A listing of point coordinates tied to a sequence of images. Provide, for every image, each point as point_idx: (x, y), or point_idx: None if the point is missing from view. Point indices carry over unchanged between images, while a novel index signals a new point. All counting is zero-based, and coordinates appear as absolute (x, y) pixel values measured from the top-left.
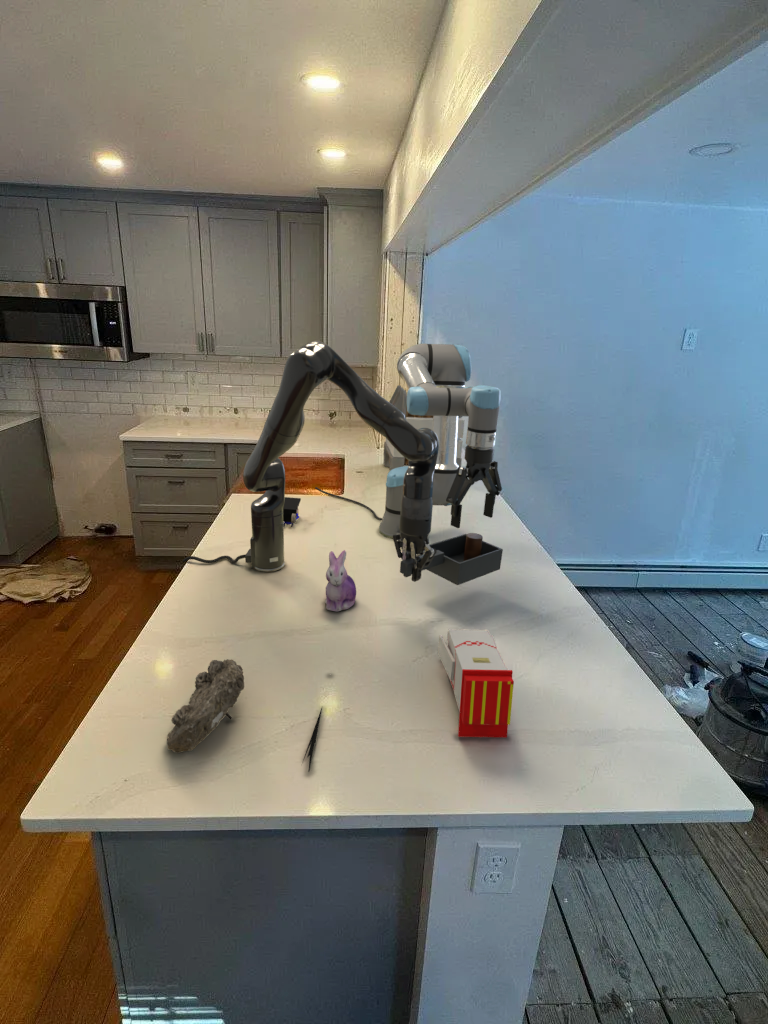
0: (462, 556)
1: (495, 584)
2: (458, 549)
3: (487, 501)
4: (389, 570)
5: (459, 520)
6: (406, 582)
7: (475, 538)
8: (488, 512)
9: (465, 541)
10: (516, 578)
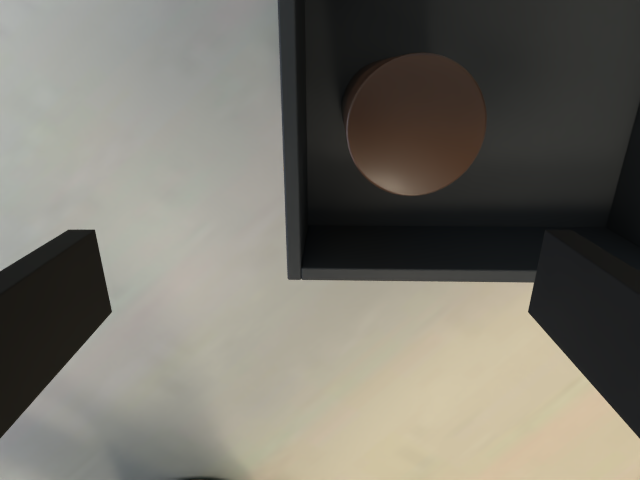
0: (358, 193)
1: (201, 91)
2: (356, 235)
3: (4, 386)
4: (435, 376)
5: (608, 262)
6: (460, 293)
7: (465, 79)
8: (77, 282)
9: (303, 248)
10: (80, 73)
